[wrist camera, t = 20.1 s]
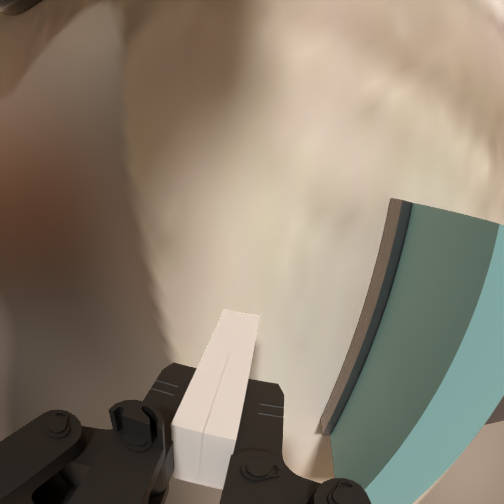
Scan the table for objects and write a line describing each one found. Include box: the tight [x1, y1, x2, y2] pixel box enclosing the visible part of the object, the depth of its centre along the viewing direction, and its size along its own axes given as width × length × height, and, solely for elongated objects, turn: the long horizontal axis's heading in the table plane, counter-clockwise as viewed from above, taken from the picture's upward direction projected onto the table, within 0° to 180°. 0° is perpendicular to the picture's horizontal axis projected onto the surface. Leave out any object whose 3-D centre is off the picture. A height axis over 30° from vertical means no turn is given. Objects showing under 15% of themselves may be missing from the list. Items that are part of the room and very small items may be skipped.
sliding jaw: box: [330, 203, 504, 504], centre depth 10 cm, size 14×4×6 cm, turn 171°
